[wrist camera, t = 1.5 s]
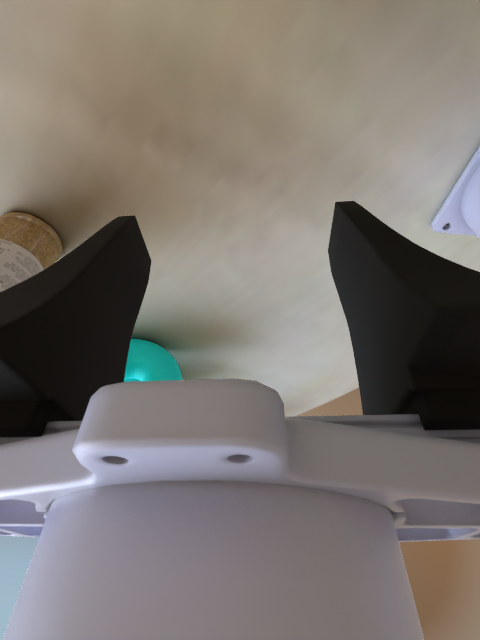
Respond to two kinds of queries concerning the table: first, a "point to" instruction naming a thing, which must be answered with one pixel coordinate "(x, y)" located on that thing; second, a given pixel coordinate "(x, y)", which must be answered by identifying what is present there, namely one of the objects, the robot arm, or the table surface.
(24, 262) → the sprinkles bottle
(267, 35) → the table surface
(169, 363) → the donuts
